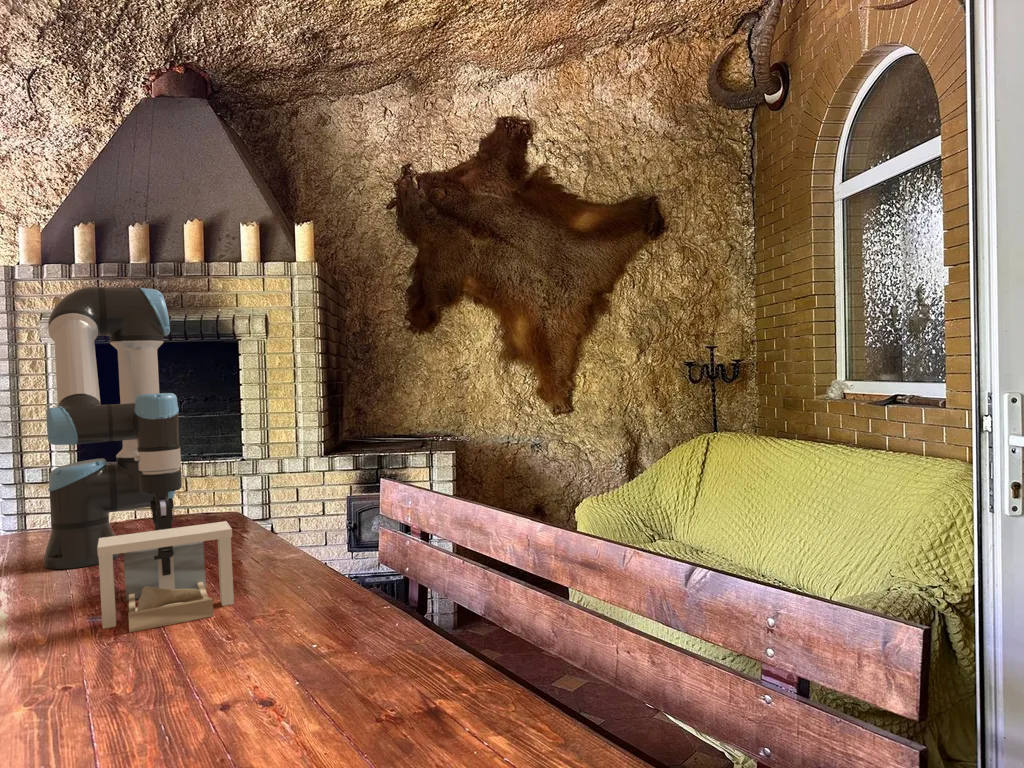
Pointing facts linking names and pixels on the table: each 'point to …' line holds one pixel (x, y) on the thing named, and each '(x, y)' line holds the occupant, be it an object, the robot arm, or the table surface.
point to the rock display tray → (145, 573)
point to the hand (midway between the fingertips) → (166, 584)
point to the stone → (165, 597)
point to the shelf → (158, 540)
